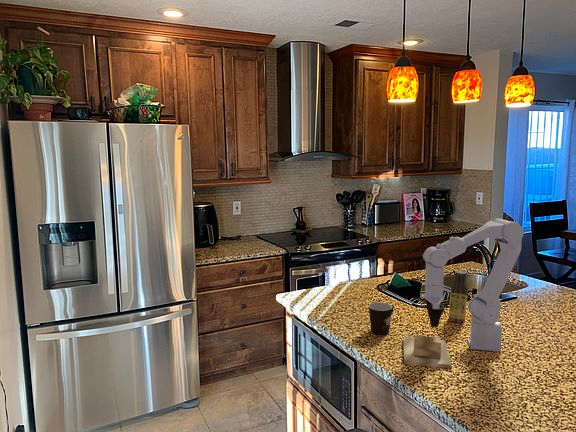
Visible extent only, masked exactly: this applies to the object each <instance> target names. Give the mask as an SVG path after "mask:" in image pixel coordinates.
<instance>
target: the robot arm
mask: <svg viewBox="0 0 576 432" xmlns="http://www.w3.org/2000/svg"><path fill="white" fill-rule="evenodd" d="M524 234H525V232H524V230H523V228H522V226H521V224H520V223H518V222H516V221H510V220H508V219H507V220H506V219H503V218H500V217H497V218H494V219H492V220H490V221H487V222H486V223H485V224H484V225H482V226H480V227H478V228H476V229H475V230H473V231H471V232H469V233H467V234H466V235H464V236H462V237H459V236H450V237H449V238H448V240H446V241H444V242H442V243H436V245H435V246H430V247H428V248H426V249H425V250H424V252H423V254H422V258H423V260H424V261H425V272H424V273H425V276H424V277H425V278H424V280H425V281H424V283H425V284H424V294H421V297H420V298H421V299H424V302H425V303H426V304H425V309H426V312H427V314H428V318H429V323H430V326H431V328H439V325H440V321H441V317H442V315H443V313H444V312H445V307H444V306H440V304H441V303H442V301H443V300H444V297H445V296H444V274H445V273H444V272H445V265H446V264H447V262H448V261H449V260H452V259H453V258H455V257H457V256H459V255H461V254H463V253H465V252H466V250H467V248H468V247H470V246H472V245H475V244H477V243H479V242H482V241H484V240H487V239H489V238H491V239H495V240H496V241H497V242H498V244H499V246H500V248H501V250H500V251H499V254H498V256H497V258H496V260H495V262H494V264H493V267H492V269H491V271H490V274H489V275H488V277H487V279H486V282H485V284H484V286H483V288H482V290H480V291H479V292H476V293H475V296H474V297H473V298H472V299H471V300H470V301H469V302H468V303H467V304H468V305H467V310H468V312H469V313H470V318H471V319H470V338H469V337H468V338H467V342H468V345H469V348H470V349H471V350H479V351H490V352H499V353H500V352H502V341H503V340H502V339H503V338H502V337H503V327H502V324H501V322H500V321H498V320H499V318H500V311H501V310H500V309H502V304H501V301H500V296H501V294H502V292H503V290H504V287H505V285H506V284H507V281H508V280H509V278H510V277H509V276H510V275H511V273H512V270H513V268H514V266H515V264H516V262H517V260H518V257H519V256H520V253H521V251H522V240H523V237H524Z"/></svg>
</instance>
